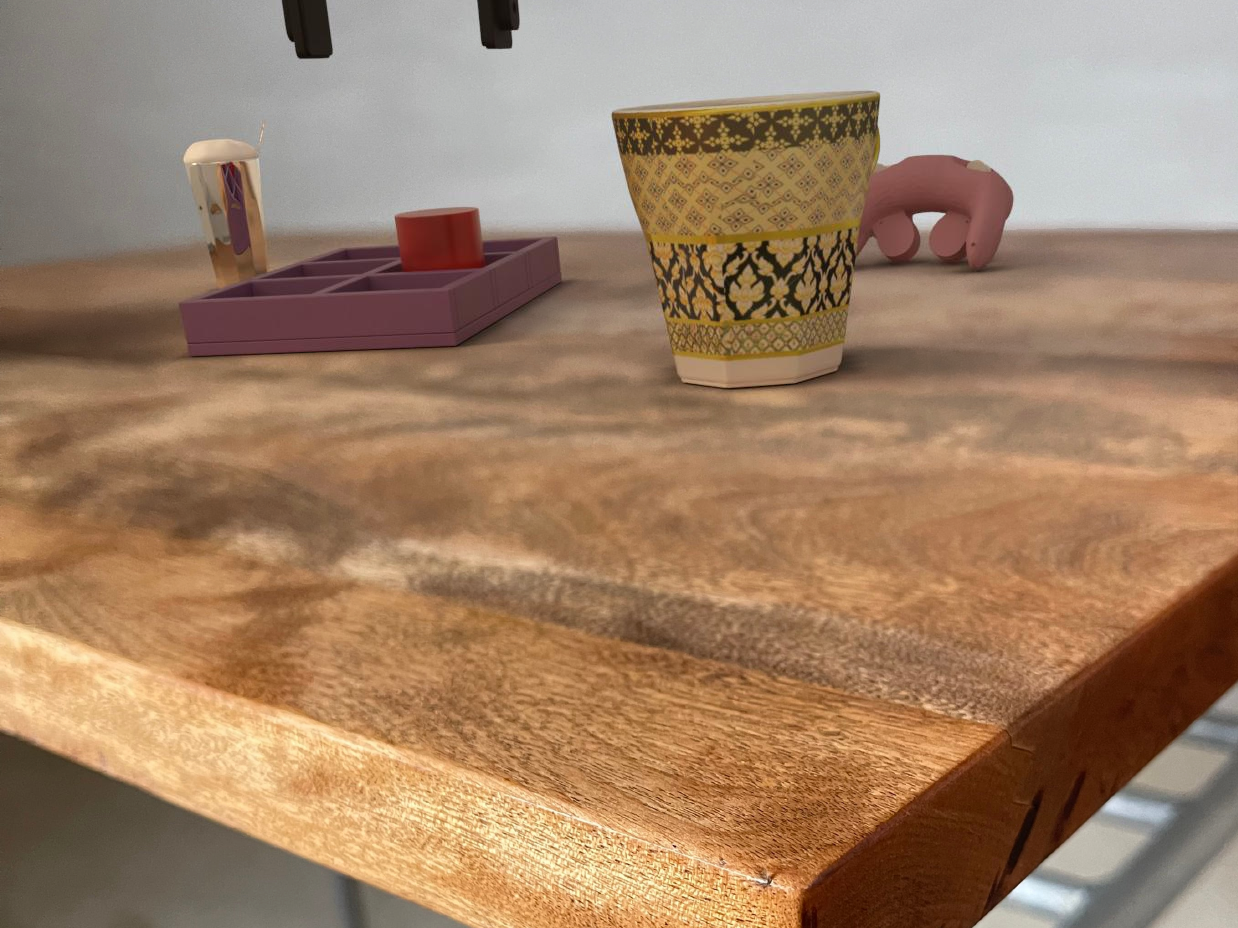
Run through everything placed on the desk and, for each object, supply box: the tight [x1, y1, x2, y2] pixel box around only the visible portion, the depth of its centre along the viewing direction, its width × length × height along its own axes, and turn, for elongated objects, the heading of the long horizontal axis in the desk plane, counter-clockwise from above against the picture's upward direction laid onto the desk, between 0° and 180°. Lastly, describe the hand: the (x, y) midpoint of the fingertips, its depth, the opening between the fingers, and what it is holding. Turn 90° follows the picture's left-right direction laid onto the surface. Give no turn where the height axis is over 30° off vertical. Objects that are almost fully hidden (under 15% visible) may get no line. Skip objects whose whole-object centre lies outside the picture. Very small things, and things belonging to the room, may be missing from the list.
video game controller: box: [856, 154, 1015, 272], centre depth 80 cm, size 10×5×7 cm, turn 59°
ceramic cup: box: [610, 90, 881, 389], centre depth 56 cm, size 13×10×10 cm
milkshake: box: [182, 118, 270, 289], centre depth 91 cm, size 4×5×10 cm
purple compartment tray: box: [178, 236, 563, 357], centre depth 77 cm, size 20×14×3 cm
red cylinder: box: [394, 206, 486, 272], centre depth 76 cm, size 4×4×4 cm
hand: (405, 53), depth 72 cm, fingers open, 9 cm apart
